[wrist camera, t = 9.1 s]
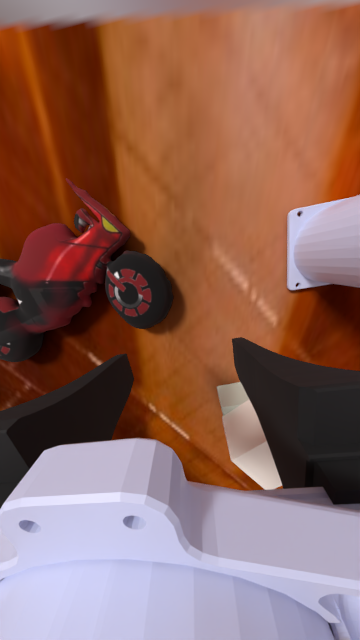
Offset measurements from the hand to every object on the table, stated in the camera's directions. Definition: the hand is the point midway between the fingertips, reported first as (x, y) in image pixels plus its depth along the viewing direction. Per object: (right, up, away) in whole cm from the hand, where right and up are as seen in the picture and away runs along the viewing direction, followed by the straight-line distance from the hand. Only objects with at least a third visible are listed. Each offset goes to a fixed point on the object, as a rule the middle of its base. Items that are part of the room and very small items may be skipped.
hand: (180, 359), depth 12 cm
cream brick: (+9, -10, +10) cm, 17 cm away
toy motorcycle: (-14, +8, +10) cm, 19 cm away
